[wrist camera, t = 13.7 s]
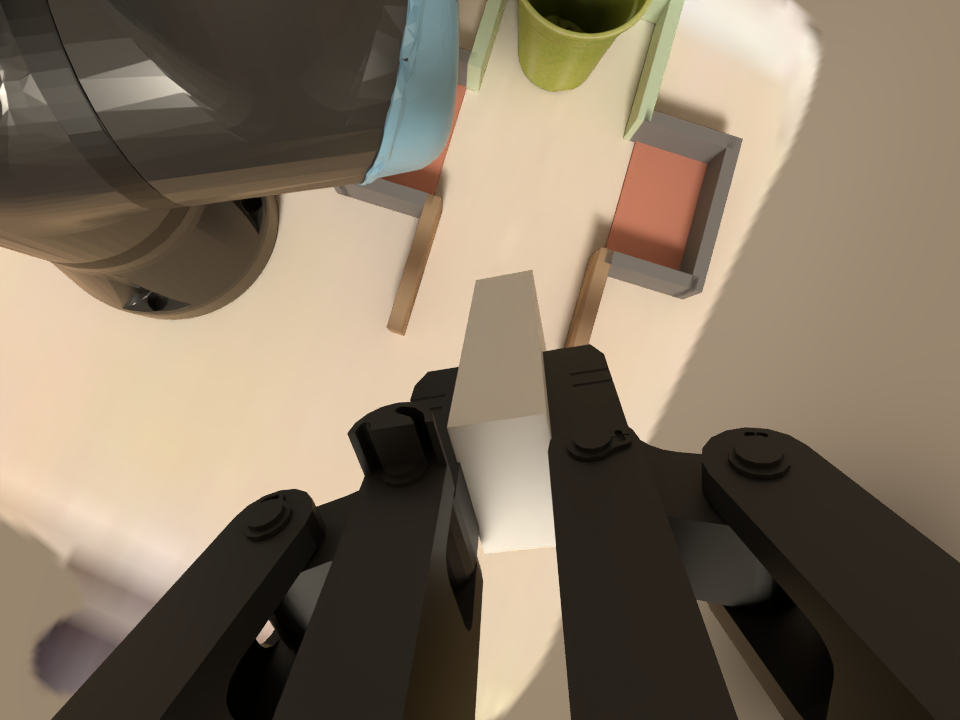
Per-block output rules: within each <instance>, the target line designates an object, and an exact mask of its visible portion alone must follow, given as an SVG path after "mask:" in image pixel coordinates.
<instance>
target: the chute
mask: <svg viewBox="0 0 960 720" xmlns="http://www.w3.org/2000/svg"><path fill="white" fill-rule="evenodd" d="M428 195H429V196H427V198H426V201H425V202H426V203H425V204H424V207H423V211H422V214H421V217H420V220H419V224H418V227H417V230H416V233H415V237H414V240H413V243H412V246H411V250H410V253H409V256H408V259H407V263H406V266H405V269H404V272H403V276H402V279H401V282H400V285H399V289H398V292H397V295H396V298H395V302H394V305H393V308H392V311H391V315H390V318H389V321H388V324H387V328H388V329H389V330H390V331H391V332H393V333H397V334H400V335H403V336H404V335H405V332H406V329H407V325H408V322H409V319H410V316H411V312H412V309H413V306H414V302H415V299H416V296H417V293H418V289H419V286H420V283H421V279H422V276H423V273H424V270H425V266H426V263H427V260H428V257H429V253H430V250H431V247H432V243H433V240H434V237H435V234H436V230H437V227H438V224H439V220H440V217H441V214H442V199H441V197H438V196H434V195H433V196H434V197H433V196H432V195H431V194H428ZM428 197H429V198H428ZM432 197H433V198H432ZM429 199H430V201H429ZM427 201H428V202H429V203H427ZM426 204H427V205H426ZM429 204H430V206H429ZM608 252H609V253H610V256H612V257H610V256H609V255H608V254H607V253H608ZM611 252H612V253H611ZM606 254H607V255H606ZM612 254H614V252H613V251H611V250H609V249H607V248H603V247H601V248H600V249H598V250H597V251H596V252H595V253H594V254H593V255H592V256H591V257H590V259H589V262H588V266H587V269H586V273H585V276H584V280H583V284H582V287H581V291H580V294H579V298H578V301H577V305H576V308H575V312H574V315H573V319H572V322H571V326H570V330H569V333H568V337H567V340H566V344H565V347H564V348H569V347H575V346H581V345H588V344H589V340H590V337H591V333H592V329H593V326H594V322H595V319H596V315H597V312H598V308H599V304H600V301H601V297H602V294H603V290H604V287H605V283H606V279H607V276H608V272H609V269H610V265H611V261H612V258H613V255H612ZM605 257H610V259H609V260H611V261H610V264H609V263H607V261H606V262H604V261H605V259H606V258H605ZM607 260H608V258H607ZM609 260H608V261H609Z"/></svg>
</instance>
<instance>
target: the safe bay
mask: <svg viewBox="0 0 960 720" xmlns="http://www.w3.org/2000/svg"><path fill="white" fill-rule="evenodd" d="M506 1H507V0H487V3H486V6H485V9H484V13H483V16H482V19H481V22H480V26H479V29H478V32H477V35H476V39H475V42H474V45H473V48H472V52H471V55H473V57H472V56H471V55H470V58H469V61H468V67H467V86H466V88H467V89H470V90H473V91H476V92H479V89H480V86H481V83H482V80H483V76H484V73H485V70H486V66H487V63H488V60H489V57H490V53H491V50H492V47H493V43H494V40H495V37H496V34H497V30H498V27H499V24H500V21H501V17H502V14H503V11H504V7H505V4H506ZM683 3H684V0H652V2H651V4H650V6H649V7H648V9H647V10H646V12H645V13H644V15H643V16H642V17H641V18H640V19H643V20H646V21H649V22H652V23H656V25H655V28H654V32H653V36H652V39H651V43H650V46H649V50H648V53H647V57H646V60H645V64H644V67H643V71H642V75H641V78H640V82H639V85H638V89H637V92H636V96H635V99H634V103H633V106H632V110H631V113H630V117H629V121H628V124H627V128H626V131H625V135H624V138H623V139H626V140H630V139H631V138H632V136H633V135H634V133H635V132H636V131H637V129H638V128H639V127H640V125H641V124H642V122H643V121H644V118H646V115H647V116H649V114H650V117H648V118H646V119H648V120H649V119H650V122H651V117H652V115H653V111H654V107H655V104H656V100H657V97H658V93H659V89H660V86H661V82H662V79H663V75H664V72H665V68H666V64H667V61H668V57H669V54H670V50H671V46H672V43H673V39H674V36H675V32H676V29H677V25H678V21H679V18H680V14H681V11H682V7H683ZM477 54H478V55H477ZM474 55H475V56H474ZM471 58H472V59H471ZM647 108H648V109H647ZM650 109H651V110H650ZM647 110H648V111H647ZM649 111H650V113H649ZM651 112H652V113H651ZM648 122H649V121H648ZM650 122H649V123H650Z"/></svg>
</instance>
